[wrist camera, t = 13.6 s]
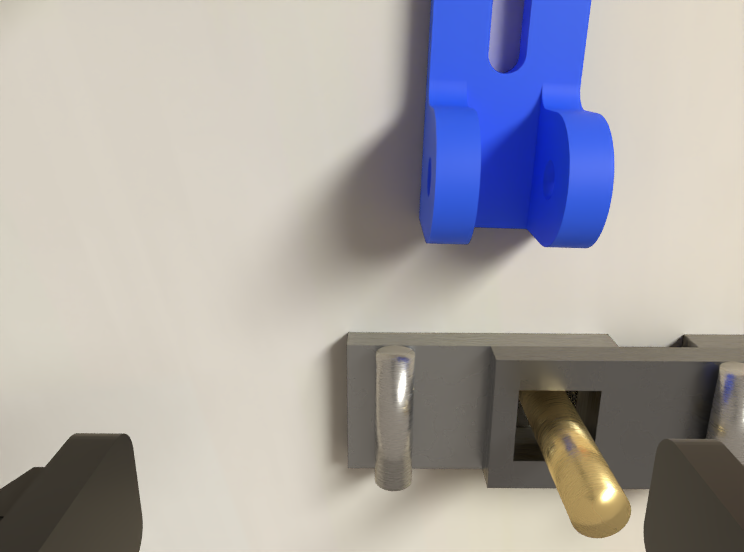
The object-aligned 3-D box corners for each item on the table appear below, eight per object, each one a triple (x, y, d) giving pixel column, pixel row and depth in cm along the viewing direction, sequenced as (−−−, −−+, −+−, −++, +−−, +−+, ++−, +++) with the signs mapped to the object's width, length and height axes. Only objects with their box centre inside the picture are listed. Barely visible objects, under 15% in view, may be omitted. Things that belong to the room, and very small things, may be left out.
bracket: (552, 221, 39) (601, 265, 31) (419, 217, 39) (430, 259, 31) (593, -109, 34) (666, -168, 25) (437, -114, 34) (457, -175, 25)
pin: (520, 374, 43) (573, 487, 31) (565, 375, 42) (634, 488, 31) (517, 414, 43) (567, 537, 32) (561, 414, 43) (626, 538, 32)
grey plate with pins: (348, 332, 42) (343, 378, 36) (745, 334, 41) (808, 380, 35) (349, 450, 44) (344, 511, 38) (721, 453, 44) (776, 514, 38)
